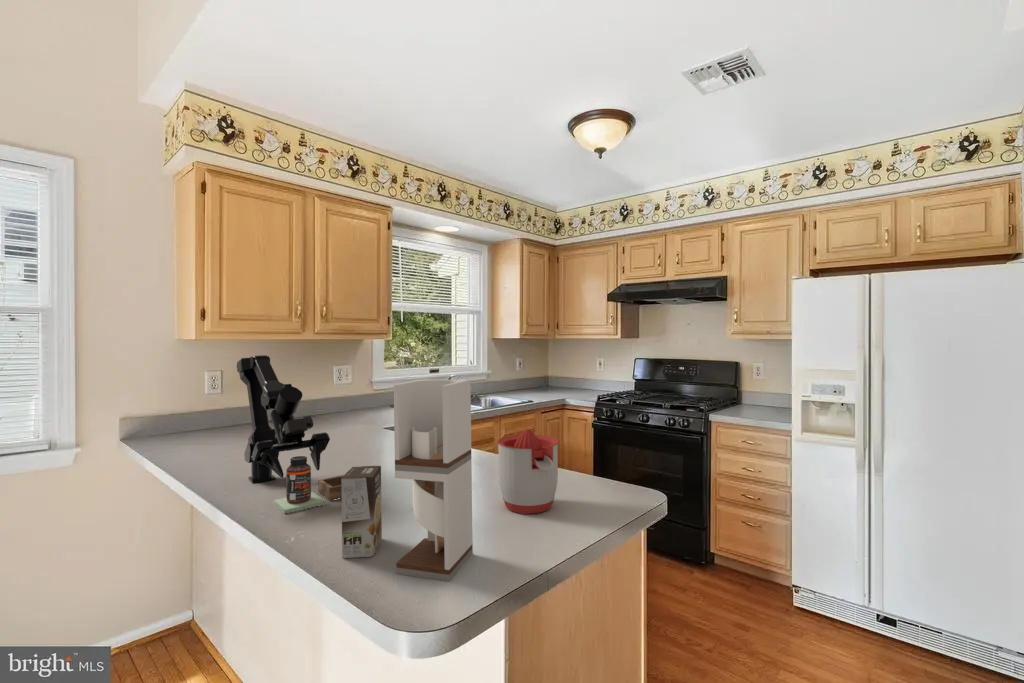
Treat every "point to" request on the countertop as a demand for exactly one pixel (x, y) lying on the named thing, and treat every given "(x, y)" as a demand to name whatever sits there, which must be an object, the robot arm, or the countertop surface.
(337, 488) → the walnut collar
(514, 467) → the citrus juicer
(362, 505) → the coffee box
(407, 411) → the white tiered shelf stand
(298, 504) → the sage rubber mat
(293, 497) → the supplement bottle
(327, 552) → the countertop surface
